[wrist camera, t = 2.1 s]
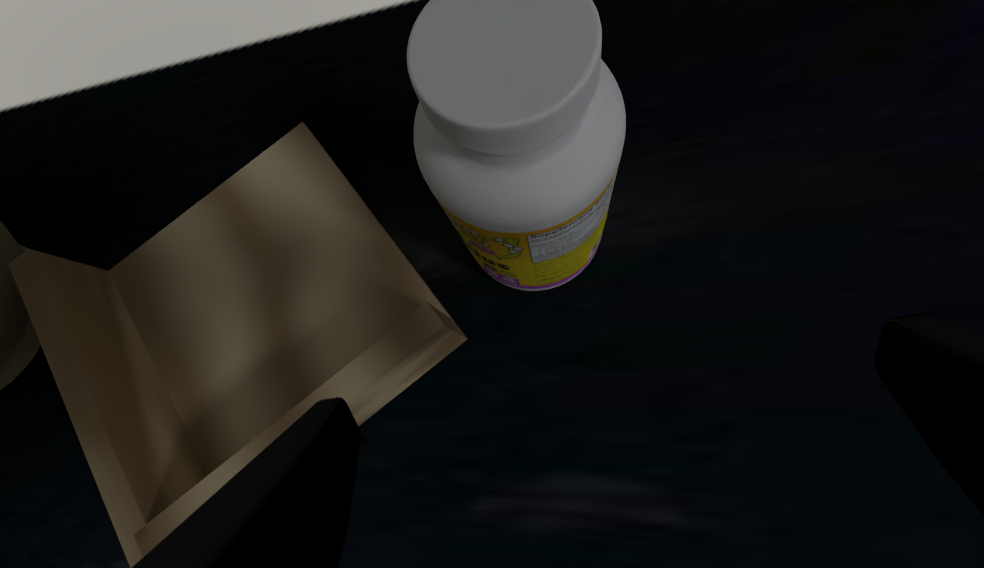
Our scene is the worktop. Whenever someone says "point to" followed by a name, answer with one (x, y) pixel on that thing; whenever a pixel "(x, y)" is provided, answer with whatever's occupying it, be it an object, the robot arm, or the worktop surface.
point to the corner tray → (229, 333)
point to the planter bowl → (13, 316)
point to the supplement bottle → (518, 131)
